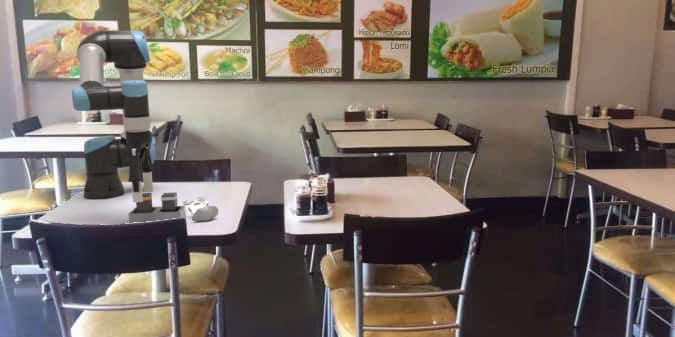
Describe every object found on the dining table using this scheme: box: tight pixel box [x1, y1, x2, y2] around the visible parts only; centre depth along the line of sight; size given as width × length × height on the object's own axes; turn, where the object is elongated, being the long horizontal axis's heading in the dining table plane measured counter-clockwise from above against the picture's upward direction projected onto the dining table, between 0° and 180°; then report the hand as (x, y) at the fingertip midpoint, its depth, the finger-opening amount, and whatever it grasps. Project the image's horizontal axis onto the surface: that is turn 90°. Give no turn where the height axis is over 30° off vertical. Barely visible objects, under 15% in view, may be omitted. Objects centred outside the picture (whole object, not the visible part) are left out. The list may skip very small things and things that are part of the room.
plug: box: [135, 192, 153, 213], centre depth 183 cm, size 4×4×9 cm
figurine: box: [182, 196, 219, 223], centre depth 191 cm, size 9×6×12 cm
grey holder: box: [128, 191, 187, 223], centre depth 183 cm, size 8×16×10 cm, turn 95°
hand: (143, 196), depth 182 cm, fingers open, 13 cm apart
